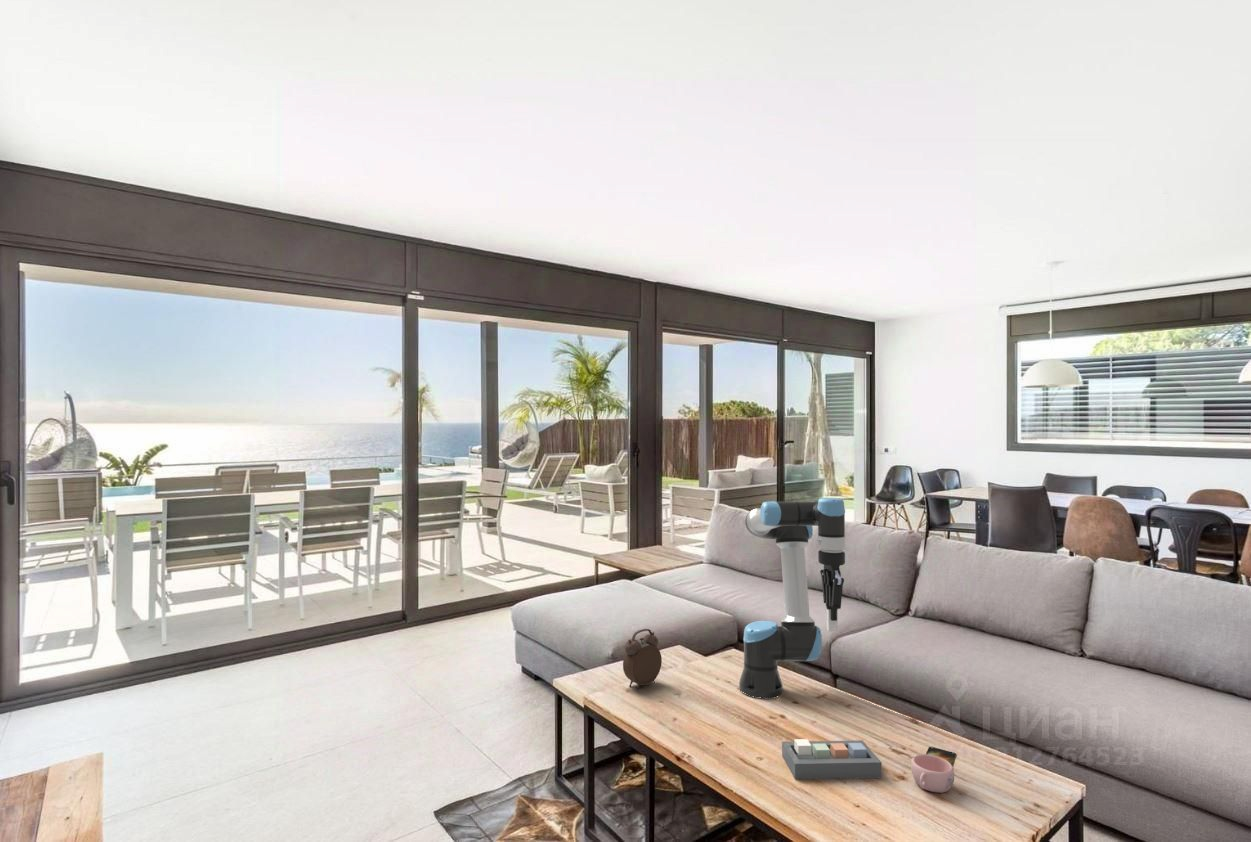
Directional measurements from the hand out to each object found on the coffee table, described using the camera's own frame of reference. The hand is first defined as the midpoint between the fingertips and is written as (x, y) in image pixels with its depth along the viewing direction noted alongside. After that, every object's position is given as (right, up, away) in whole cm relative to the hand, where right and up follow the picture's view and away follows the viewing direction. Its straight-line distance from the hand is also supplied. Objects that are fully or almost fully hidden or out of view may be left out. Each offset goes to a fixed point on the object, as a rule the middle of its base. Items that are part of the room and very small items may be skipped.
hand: (832, 630), depth 185 cm
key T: (-3, -29, -15) cm, 33 cm away
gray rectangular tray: (-6, -32, -15) cm, 36 cm away
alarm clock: (-55, -34, +41) cm, 77 cm away
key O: (-13, -28, -15) cm, 34 cm away
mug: (+17, -32, -25) cm, 44 cm away
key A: (+2, -29, -15) cm, 33 cm away
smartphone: (+25, -33, -12) cm, 43 cm away
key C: (-8, -29, -15) cm, 34 cm away
